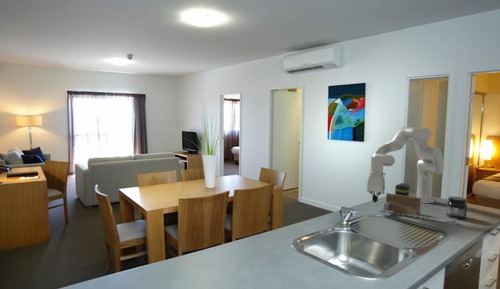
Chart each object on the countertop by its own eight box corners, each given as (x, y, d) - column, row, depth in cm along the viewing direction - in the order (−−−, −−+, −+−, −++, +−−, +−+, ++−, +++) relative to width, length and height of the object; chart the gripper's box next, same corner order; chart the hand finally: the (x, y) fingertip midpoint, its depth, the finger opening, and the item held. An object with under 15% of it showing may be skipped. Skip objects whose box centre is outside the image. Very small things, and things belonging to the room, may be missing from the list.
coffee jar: (404, 214, 198) (406, 185, 196) (392, 211, 203) (393, 183, 202) (410, 210, 204) (411, 183, 203) (397, 208, 210) (399, 181, 208)
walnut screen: (386, 209, 204) (387, 193, 203) (419, 215, 192) (420, 197, 191) (382, 212, 196) (383, 196, 195) (417, 219, 184) (418, 201, 183)
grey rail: (380, 209, 207) (380, 205, 206) (456, 223, 181) (456, 218, 180) (378, 210, 204) (379, 206, 204) (456, 224, 178) (456, 219, 178)
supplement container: (460, 214, 197) (461, 196, 196) (470, 220, 187) (471, 200, 186) (442, 214, 198) (444, 195, 197) (452, 219, 188) (453, 200, 187)
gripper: (390, 174, 197) (388, 202, 198) (366, 171, 206) (365, 198, 207) (387, 176, 191) (385, 205, 192) (362, 173, 200) (361, 200, 201)
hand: (374, 201), depth 200 cm, fingers closed
